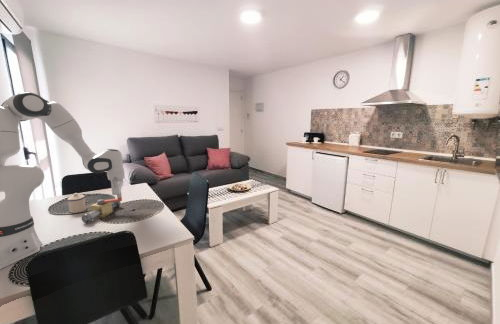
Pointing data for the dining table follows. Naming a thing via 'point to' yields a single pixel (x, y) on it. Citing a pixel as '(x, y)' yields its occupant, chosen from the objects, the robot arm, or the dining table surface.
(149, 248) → the dining table surface
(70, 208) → the teacup with lid
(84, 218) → the valve pipe
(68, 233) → the dining table surface
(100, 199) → the valve lever
